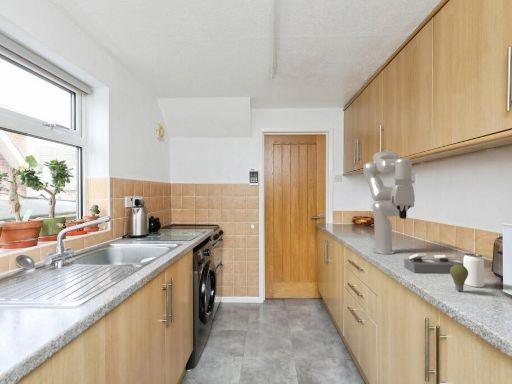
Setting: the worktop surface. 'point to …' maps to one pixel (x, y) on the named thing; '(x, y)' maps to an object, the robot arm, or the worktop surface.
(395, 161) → the robot arm
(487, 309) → the worktop surface
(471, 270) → the can
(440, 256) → the rocker
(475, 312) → the worktop surface
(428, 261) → the switch panel
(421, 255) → the rocker
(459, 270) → the light bulb
